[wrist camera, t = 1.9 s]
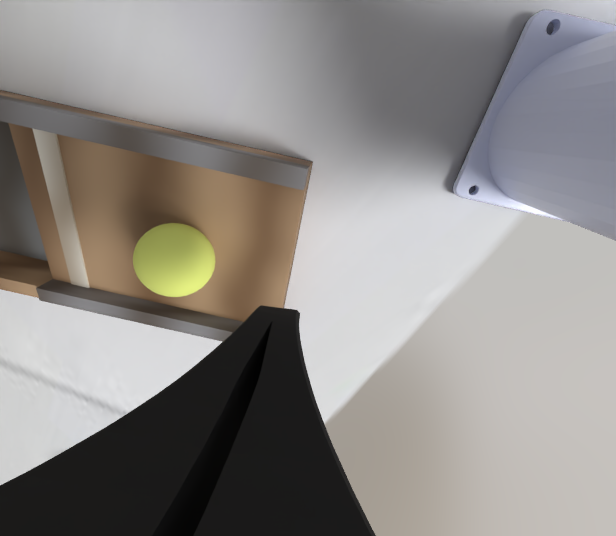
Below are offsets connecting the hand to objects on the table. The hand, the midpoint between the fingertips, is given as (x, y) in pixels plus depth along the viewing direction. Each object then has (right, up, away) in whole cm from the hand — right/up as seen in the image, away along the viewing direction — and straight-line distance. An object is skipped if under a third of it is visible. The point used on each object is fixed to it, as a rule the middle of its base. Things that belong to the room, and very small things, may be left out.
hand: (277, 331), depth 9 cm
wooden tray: (-12, +6, +9) cm, 16 cm away
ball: (-6, +3, +5) cm, 9 cm away
